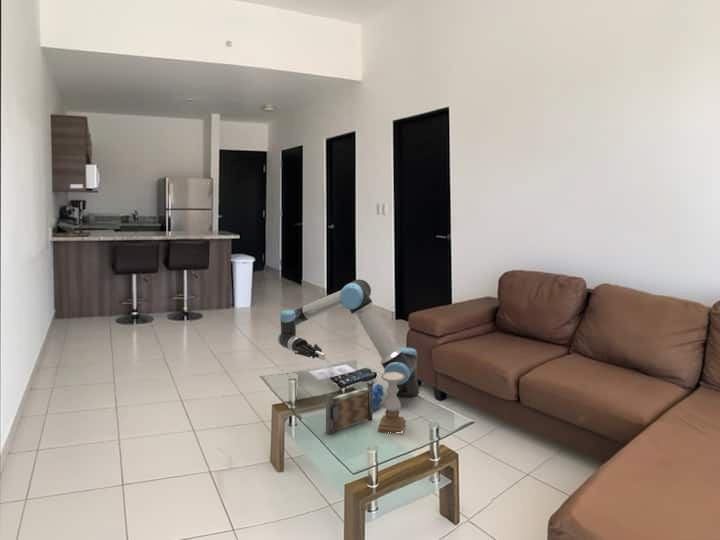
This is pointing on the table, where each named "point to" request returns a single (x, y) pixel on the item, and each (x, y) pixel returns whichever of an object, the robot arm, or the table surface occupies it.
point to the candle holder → (392, 405)
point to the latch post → (331, 413)
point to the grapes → (377, 396)
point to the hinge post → (370, 400)
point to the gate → (351, 408)
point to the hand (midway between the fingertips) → (323, 357)
